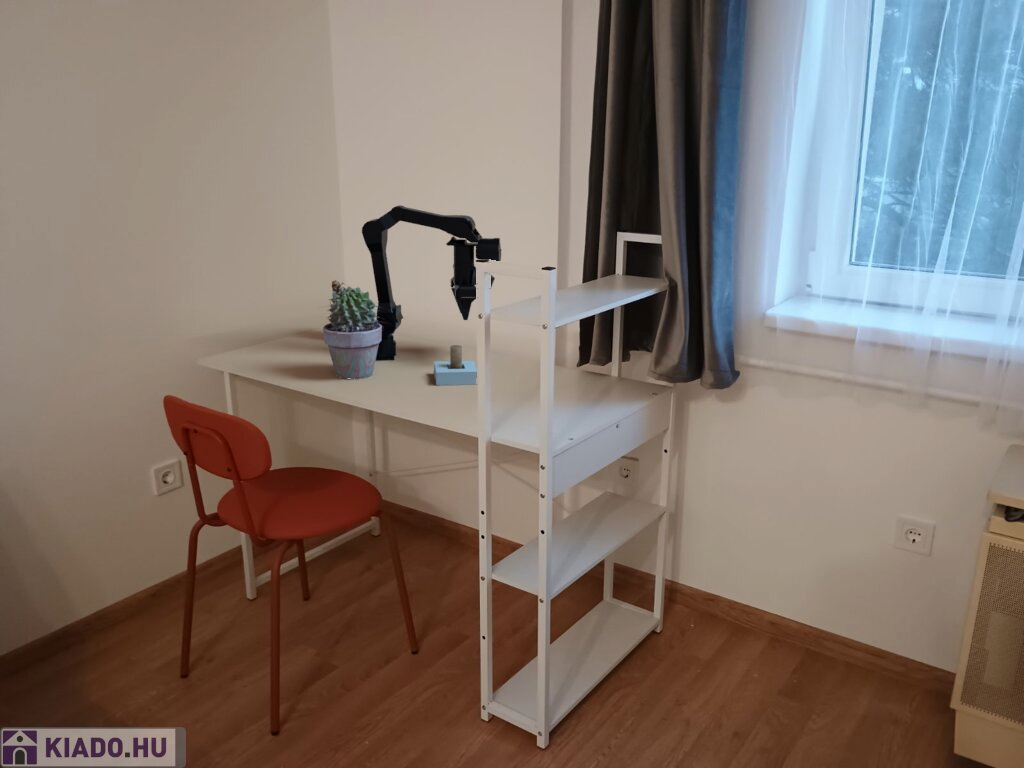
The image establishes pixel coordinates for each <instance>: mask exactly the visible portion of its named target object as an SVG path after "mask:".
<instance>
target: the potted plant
mask: <svg viewBox="0 0 1024 768" xmlns="http://www.w3.org/2000/svg"><path fill="white" fill-rule="evenodd" d="M342 285H346V284H345V283H344V282H341V283H340V281H338V280H332V281H331V288H332V293H333V292H335V293H336V294H337V295H336V299H333V297H332V298H329V299H328V300H329V302H330V303H329V304H330V305H329V307H330V308H329V309H328V310H326V312H330V313H328V314H329V316H328V317H326V319H328V321H329V322H330V323H327V324H325V325H324V326H323V327H322V330H323V338H324V344H325V345H327V349H328V351H329V355H330V358H331V359H330V360H331V362H332V367H333V369H334V372H335V373H334V374H335V376H336V375H337V376H338V377H337V376H336V377H337V378H339V377H341V378H340V379H343V378H351V379H350V380H357V379H356V378H361V379H366V378H369V376H370V377H371V376H373V375H374V370H375V365H376V361H377V360H376V355H377V350H378V346H379V343H380V342H381V338H382V327H383V326H381V324H379V323H378V320H377V319H375V318H377V317H378V316H377V313H376V312H375V311H377V309H375V307H376V308H378V305H376V302H374V301H373V300H372V299H371V298H370V293H369V291H366V292H363V291H362V290H361V288H360V287H359V286H357V287H355V288H356V290H355V289H353V288H352V287H351V286H350V285H348V287H347V288H346V287H343V286H342ZM346 286H347V285H346ZM342 289H343V291H342ZM343 292H344V293H343ZM331 302H332V303H331ZM333 303H334V304H333ZM382 304H383V303H382ZM325 307H328V305H327V306H325ZM319 308H322V306H320V307H318V309H319ZM380 308H381V307H380ZM374 310H375V311H374ZM379 318H380V317H379ZM384 323H385V322H384ZM389 324H390V323H389ZM365 377H366V378H365ZM354 378H355V379H354Z"/></svg>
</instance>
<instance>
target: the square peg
mask: <svg viewBox="0 0 1024 768" xmlns="http://www.w3.org/2000/svg"><path fill="white" fill-rule="evenodd" d="M449 349H450V352H449V353H450V354H449V356H450V358H449V359H450V369H462V361H463V351H462V350H463V346H462V345H457V344H454V345H450V348H449Z"/></svg>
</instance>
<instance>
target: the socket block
mask: <svg viewBox="0 0 1024 768" xmlns="http://www.w3.org/2000/svg"><path fill="white" fill-rule="evenodd" d="M476 367H477V364H476V362H475V361H474V360H462V369H450V361H433V377H434V381H435V385H436V386H437V387H438V386H466V385H467V386H469V385H477V384H476V378H477V369H478V367H477V368H476Z"/></svg>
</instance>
